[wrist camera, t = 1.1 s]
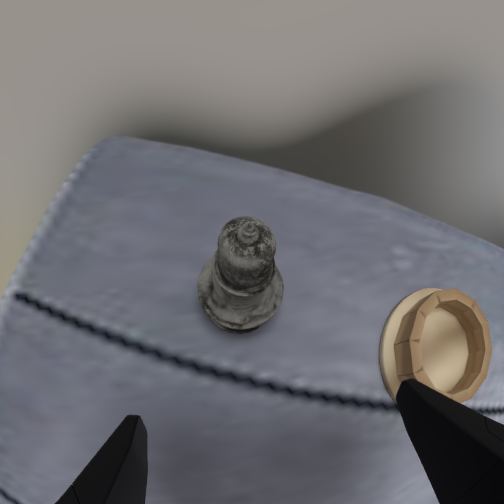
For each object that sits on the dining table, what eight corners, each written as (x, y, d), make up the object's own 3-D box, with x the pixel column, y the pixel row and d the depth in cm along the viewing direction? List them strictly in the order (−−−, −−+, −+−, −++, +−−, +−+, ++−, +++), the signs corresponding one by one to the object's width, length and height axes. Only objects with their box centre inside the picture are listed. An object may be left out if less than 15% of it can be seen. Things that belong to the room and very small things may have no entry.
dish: (487, 357, 23) (510, 351, 19) (420, 441, 19) (443, 445, 16) (433, 269, 26) (453, 255, 23) (353, 341, 23) (372, 334, 20)
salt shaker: (226, 351, 22) (226, 319, 11) (188, 288, 24) (158, 204, 13) (290, 312, 24) (343, 246, 13) (250, 254, 25) (267, 155, 15)
